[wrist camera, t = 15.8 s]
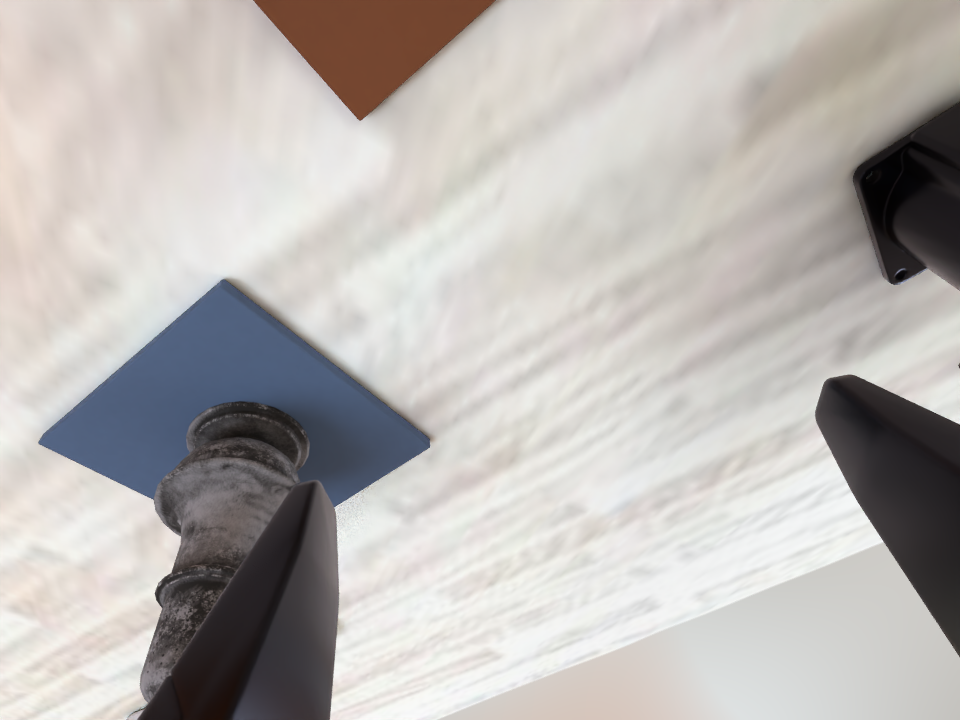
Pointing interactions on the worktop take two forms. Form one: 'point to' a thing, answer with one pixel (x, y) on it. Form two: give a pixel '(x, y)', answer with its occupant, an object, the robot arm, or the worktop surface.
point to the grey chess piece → (218, 514)
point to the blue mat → (232, 378)
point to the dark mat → (369, 40)
